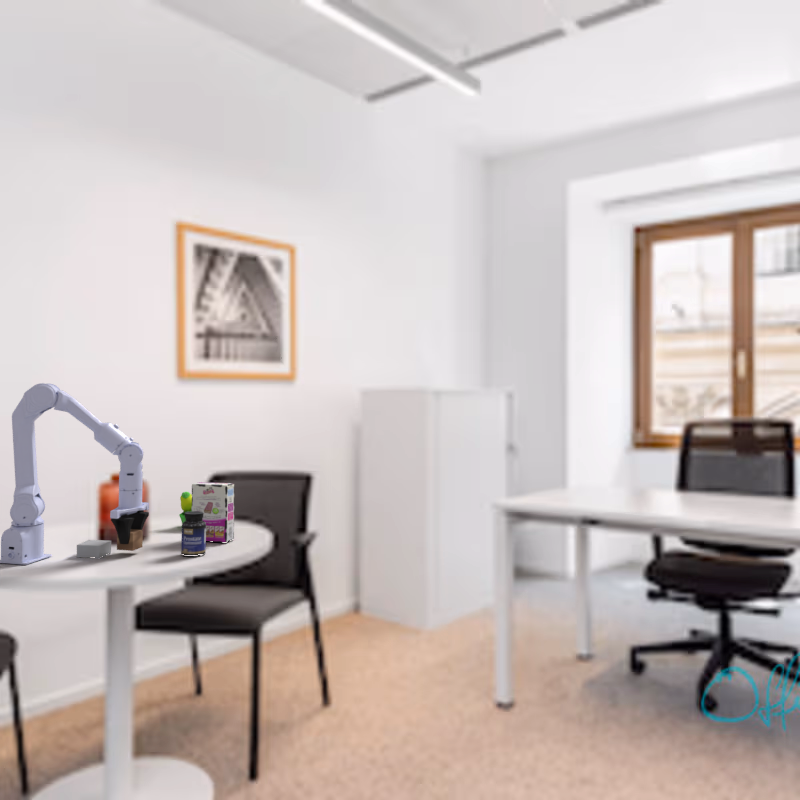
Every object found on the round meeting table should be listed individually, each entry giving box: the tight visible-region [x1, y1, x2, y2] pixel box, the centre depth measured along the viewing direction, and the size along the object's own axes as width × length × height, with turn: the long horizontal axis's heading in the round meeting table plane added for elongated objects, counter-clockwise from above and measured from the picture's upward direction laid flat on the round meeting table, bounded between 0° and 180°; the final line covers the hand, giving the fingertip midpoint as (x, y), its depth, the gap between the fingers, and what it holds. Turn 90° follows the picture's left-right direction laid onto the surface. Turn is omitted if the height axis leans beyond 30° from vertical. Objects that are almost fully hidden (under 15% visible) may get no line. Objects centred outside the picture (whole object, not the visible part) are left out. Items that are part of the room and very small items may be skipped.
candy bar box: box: [191, 481, 235, 543], centre depth 200 cm, size 11×5×16 cm, turn 76°
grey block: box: [76, 539, 112, 559], centre depth 181 cm, size 6×6×4 cm
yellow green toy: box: [178, 491, 192, 524], centre depth 219 cm, size 11×9×11 cm
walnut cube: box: [116, 529, 144, 552], centre depth 183 cm, size 4×4×4 cm
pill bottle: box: [180, 511, 207, 555], centre depth 183 cm, size 6×6×11 cm
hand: (129, 541), depth 183 cm, fingers closed on walnut cube, 4 cm apart
